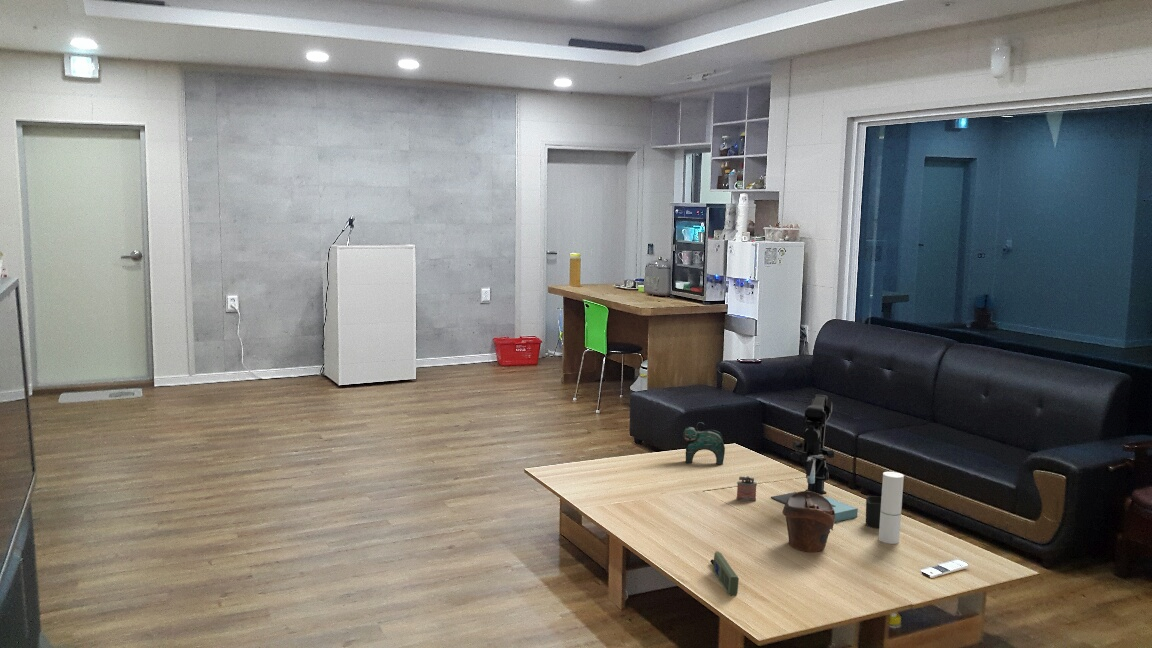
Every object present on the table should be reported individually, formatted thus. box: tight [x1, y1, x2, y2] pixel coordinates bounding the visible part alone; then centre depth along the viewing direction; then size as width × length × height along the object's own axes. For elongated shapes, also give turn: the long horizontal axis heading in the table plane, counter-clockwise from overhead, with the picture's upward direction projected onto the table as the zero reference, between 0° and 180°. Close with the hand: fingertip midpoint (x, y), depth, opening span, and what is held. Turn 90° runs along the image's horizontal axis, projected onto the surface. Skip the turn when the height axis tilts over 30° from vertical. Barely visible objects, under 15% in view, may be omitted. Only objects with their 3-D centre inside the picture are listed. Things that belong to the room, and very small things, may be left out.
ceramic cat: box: [682, 421, 726, 466], centre depth 415 cm, size 20×6×20 cm, turn 80°
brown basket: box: [781, 490, 835, 553], centre depth 313 cm, size 18×20×18 cm
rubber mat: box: [770, 491, 797, 505], centre depth 364 cm, size 14×14×1 cm
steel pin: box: [806, 458, 816, 484], centre depth 355 cm, size 3×3×10 cm
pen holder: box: [865, 495, 881, 530], centre depth 337 cm, size 9×9×10 cm
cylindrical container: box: [878, 471, 905, 545], centre depth 320 cm, size 7×7×25 cm
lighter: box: [736, 476, 758, 502], centre depth 363 cm, size 8×3×10 cm, turn 84°
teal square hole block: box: [823, 496, 859, 523], centre depth 348 cm, size 16×16×4 cm
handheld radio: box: [710, 550, 740, 597], centre depth 284 cm, size 7×3×25 cm
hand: (811, 475), depth 355 cm, fingers closed on steel pin, 3 cm apart
